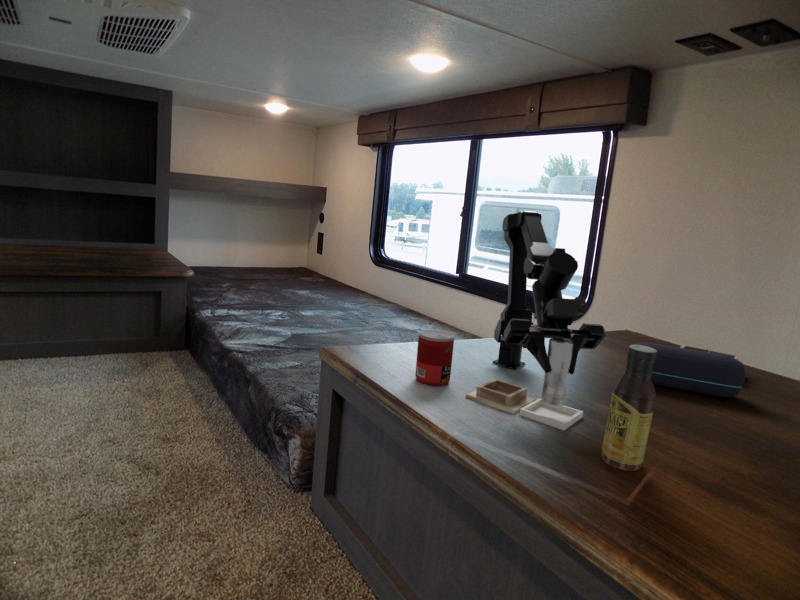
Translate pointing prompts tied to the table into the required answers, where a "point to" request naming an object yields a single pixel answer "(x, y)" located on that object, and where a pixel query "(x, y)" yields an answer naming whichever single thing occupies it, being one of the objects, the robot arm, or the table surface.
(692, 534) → the table surface
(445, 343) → the canned food
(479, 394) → the wooden socket base
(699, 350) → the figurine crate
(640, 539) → the table surface
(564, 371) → the cylinder
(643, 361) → the sauce bottle
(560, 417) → the tray
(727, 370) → the portable speaker
